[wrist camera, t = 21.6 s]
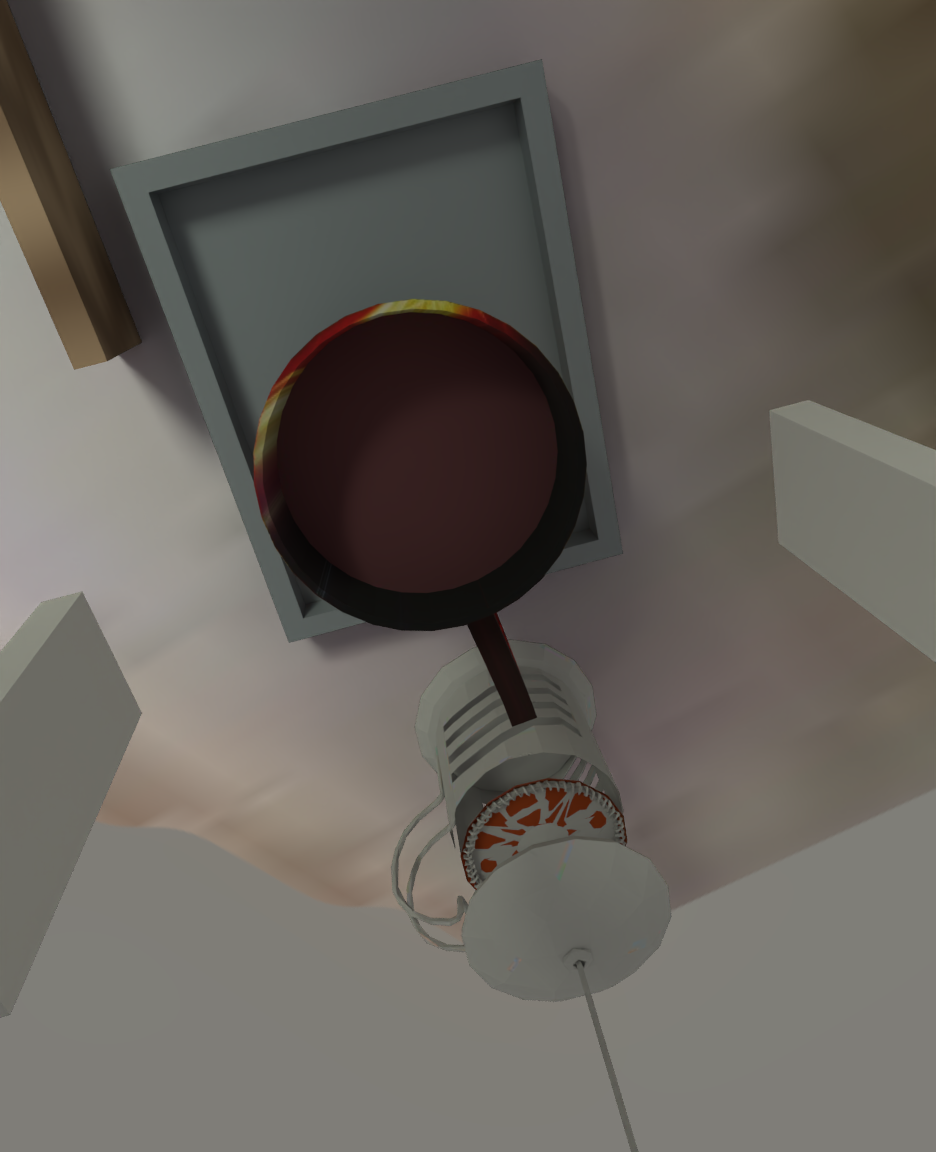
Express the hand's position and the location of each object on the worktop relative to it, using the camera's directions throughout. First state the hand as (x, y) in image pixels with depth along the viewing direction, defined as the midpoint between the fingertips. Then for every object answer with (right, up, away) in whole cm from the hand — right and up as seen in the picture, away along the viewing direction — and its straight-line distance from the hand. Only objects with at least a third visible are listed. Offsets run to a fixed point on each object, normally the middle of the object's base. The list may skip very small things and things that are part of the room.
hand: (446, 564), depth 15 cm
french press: (+2, -8, +28) cm, 29 cm away
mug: (0, +5, +20) cm, 21 cm away
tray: (-3, +8, +20) cm, 22 cm away
